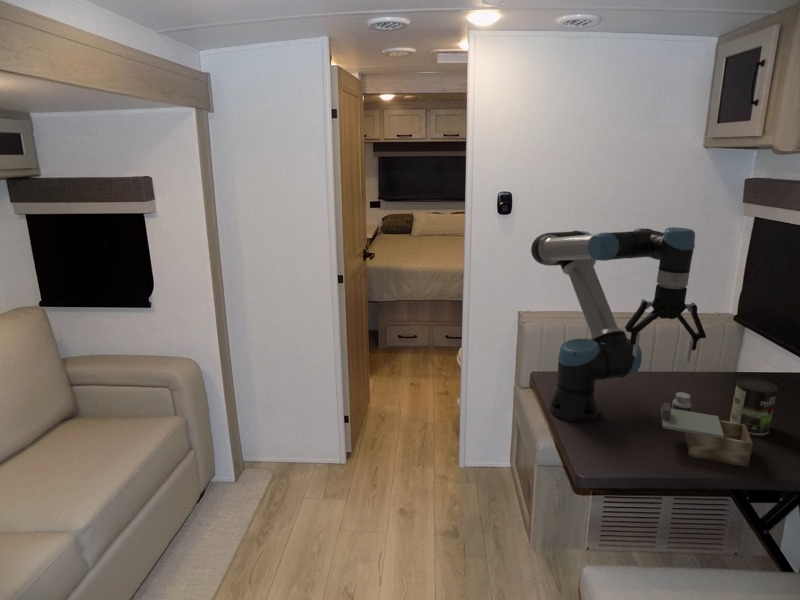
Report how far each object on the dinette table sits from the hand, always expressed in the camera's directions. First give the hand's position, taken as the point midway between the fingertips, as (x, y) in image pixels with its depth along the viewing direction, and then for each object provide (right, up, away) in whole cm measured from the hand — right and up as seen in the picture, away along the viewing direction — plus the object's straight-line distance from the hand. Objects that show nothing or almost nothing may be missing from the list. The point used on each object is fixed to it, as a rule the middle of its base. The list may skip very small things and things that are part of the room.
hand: (660, 357), depth 148 cm
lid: (+8, -18, -1) cm, 20 cm away
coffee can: (+32, -22, +11) cm, 41 cm away
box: (+14, -26, -2) cm, 30 cm away
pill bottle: (+13, -22, +15) cm, 29 cm away
